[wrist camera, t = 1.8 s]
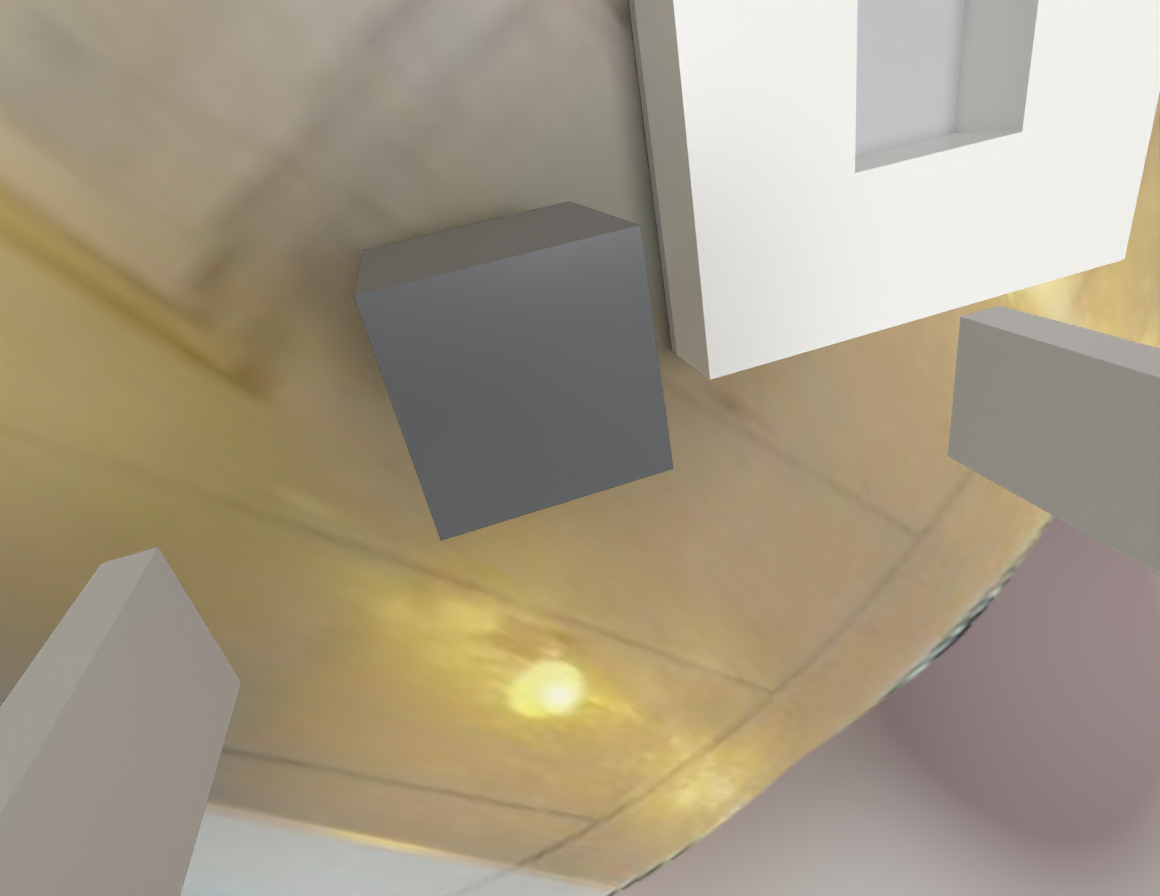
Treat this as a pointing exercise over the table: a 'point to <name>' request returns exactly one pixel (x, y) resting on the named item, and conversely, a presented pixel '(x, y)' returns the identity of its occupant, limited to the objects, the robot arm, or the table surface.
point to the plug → (518, 361)
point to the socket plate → (883, 158)
